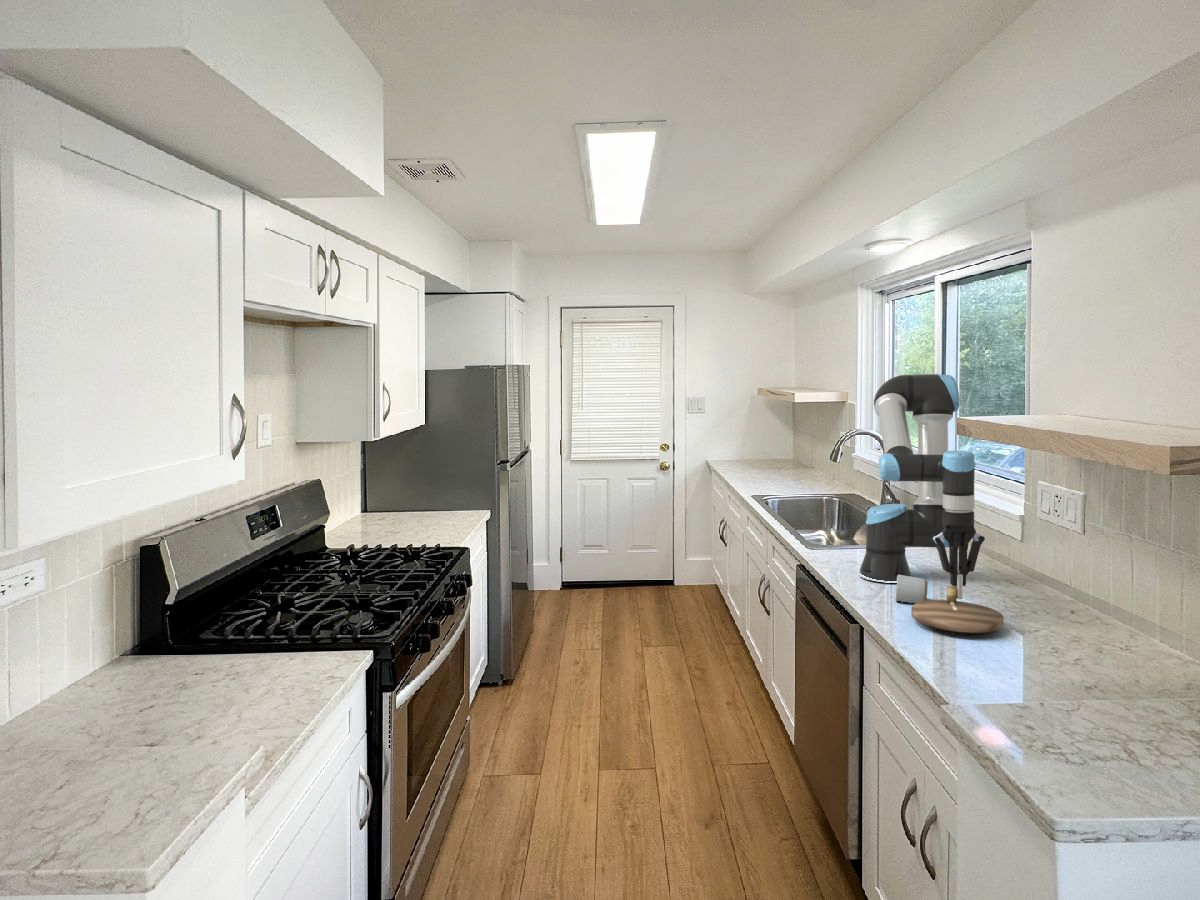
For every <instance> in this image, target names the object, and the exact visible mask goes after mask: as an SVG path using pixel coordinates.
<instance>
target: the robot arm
mask: <svg viewBox="0 0 1200 900" xmlns="http://www.w3.org/2000/svg"><path fill="white" fill-rule="evenodd" d="M959 408H960V392H959V388H958V384H957V381H956V379H955V378H954V377H953V376H952V375H951V374H939V373H936V374H934V373H933V374H931V373H930V374H900V375H896V376H894V377H891V378H889V379H888V380H886V381H885V382H884V383H883V384H881V386H880V387H879V389H878V390H877V391H876V393H875V395H874V399H873V410H874V412H875V414H876V415H877V416H878V419H879V425H880V432H881V439H882V447H883V451H884V453H883V454H879V455H880V456H879V459H878V475H879V478H880V480H882V481H888V482H889V481H891V482H918V483H917V485H918V487H917V491H918V492H917V493H918V494H917V496H918V497H917V499H916V500H915V501H914V502H913V503H912V509H908V507H907V505H906V504H903V503H885V504H878V505H874V506H871V507H870V508H868V509H867V513H866V520H865V524H866V536H865V537H866V538H865V541H866V542H865V554H864V558H863V560H862V562H861V564H860V568H859V574H860V573H861V574H862V575H864V576H866V577H869V578H872V579H876V580H884V581H897V576H898V575H904V576H910V577H912V575H911V574H912V572H911V568H910V566H909V562H908V561H907V557H906V547H913V548H914V547H916V548H932V549H933V548H936V550H937V553H938V556H939V559H940V560H939V561H940V564H941V567H942V570H943V571H945V572H946V573H949V574H950V575H949V576H950V578H949V579H950V580H949V581H950V582H949V583H950V586H954V587H957V599H956V600H963V598H964V597H963V592H964V591H963V589H964V588H963V587H966V585H967V575H969V573H972V572H974V571H975V567H976V565H977V560H978V557H979V553H980V549H981V545H982V544H983V543H984V541H985V539H986V537H985V536H983V535H981V534H980V533H979V534H978V533H977V531H976V528H975V512H974V510H975V474H976V473H975V467H976V463H975V454H974V453H973V452H972V451H970V450H968V451H967V450H949V422H950V420H952V419H953V418H954V413H955V412H957V411H959ZM907 412H910V413H912V418H913V419H914V420H915V421H916V422H917V446H918V447H917V453H918V454H917V453H916V454H915V453H914V450H913V445H912V440H911V435H910V431H909V424H908V419H907V415H906V413H907ZM970 542H971V545H970V549H969V543H970ZM946 548H949V550H948V552H949V553H947V550H946ZM968 549H969V552H968ZM948 555H949V557H948Z"/></svg>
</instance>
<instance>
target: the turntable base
mask: <svg viewBox="0 0 1200 900" xmlns="http://www.w3.org/2000/svg"><path fill="white" fill-rule="evenodd" d="M928 627H929V628H931V629H933V630H935V629H936V630H935V631H938V630H939V631H938V632H941V631H942V633H945V632H947V633H946V634H951V633H954V634H953V635H958V634H962V635H961V636H975V635H976V634H977V636H978V635H983V634H985V633H986V632H982V633H969V632H956V631H949V630H944V629H939V628H935V627H931V626H928Z"/></svg>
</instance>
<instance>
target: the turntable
mask: <svg viewBox="0 0 1200 900" xmlns="http://www.w3.org/2000/svg"><path fill="white" fill-rule="evenodd" d="M945 599H946V600H945ZM945 599H935V600H934V599H932V600H926V601H922V602H918V603H915V604H912V605H911V610H910V611H911V618H912V619H914V620H915V621H917V622H918V623H921V624H923V625H926V626H928V627H929V626H931V627H935V628H939V629H944V630H949V631H956V632H969V633H982V632H985V633H991V632H995V631H996V632H997V631H999V630H1001V629H1003V627H1004V615H1003V614H1002V613H1001V612H999V611H998V610H996V609H993V608H990V607H987V606H984V605H982V604H977V603H972V602H968V601H967V602H966V601H959V600H958V599H957V587H954V586H952V585H948V586H946V598H945ZM931 627H930V628H931ZM982 634H983V633H982Z"/></svg>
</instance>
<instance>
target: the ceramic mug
mask: <svg viewBox="0 0 1200 900" xmlns="http://www.w3.org/2000/svg"><path fill="white" fill-rule="evenodd" d="M928 585H929V582H928V580H927V579H926V578H925V579H924V578H921V577H916V576H911V577H910V576H904V575H898V576H897V584H896V586H895V587H896V589H895V602H896V601H901V602H900V603H903V602H909V603H908V604H913V603H918V602H922V601H928V600H927V598H928V597H927V596H928Z"/></svg>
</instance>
